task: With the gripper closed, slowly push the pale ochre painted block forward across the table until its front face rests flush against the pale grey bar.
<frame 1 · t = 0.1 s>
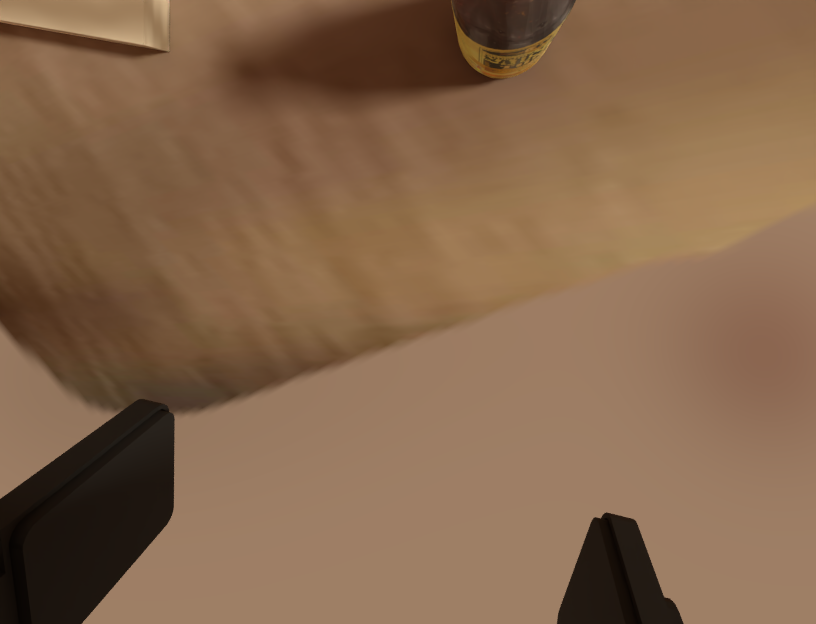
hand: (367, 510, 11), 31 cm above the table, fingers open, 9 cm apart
sauce bottle: (506, 31, 35), on the table
pale grey bar: (50, 2, 40), on the table
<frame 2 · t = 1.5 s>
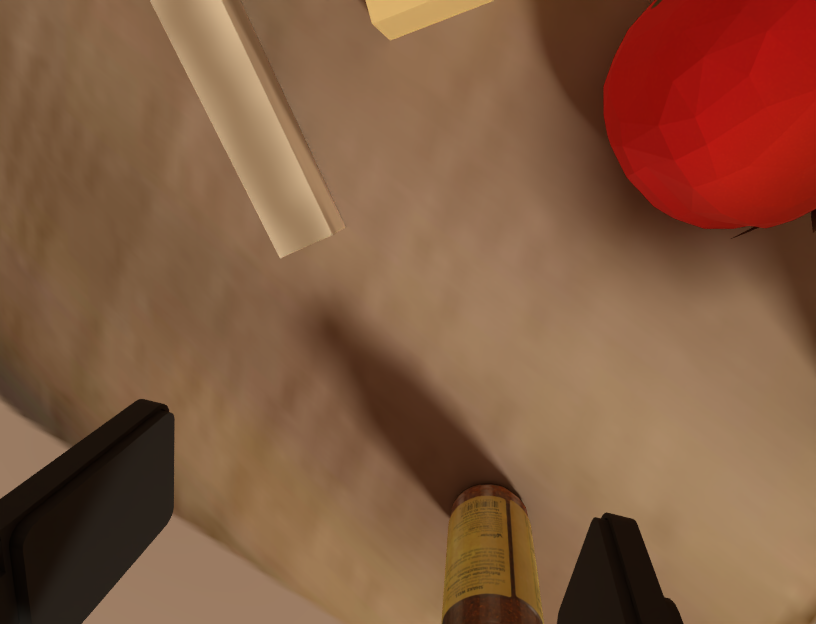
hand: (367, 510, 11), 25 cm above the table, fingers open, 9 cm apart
sauce bottle: (491, 511, 41), on the table
pale grey bar: (253, 97, 33), on the table
tomato: (706, 106, 30), on the table
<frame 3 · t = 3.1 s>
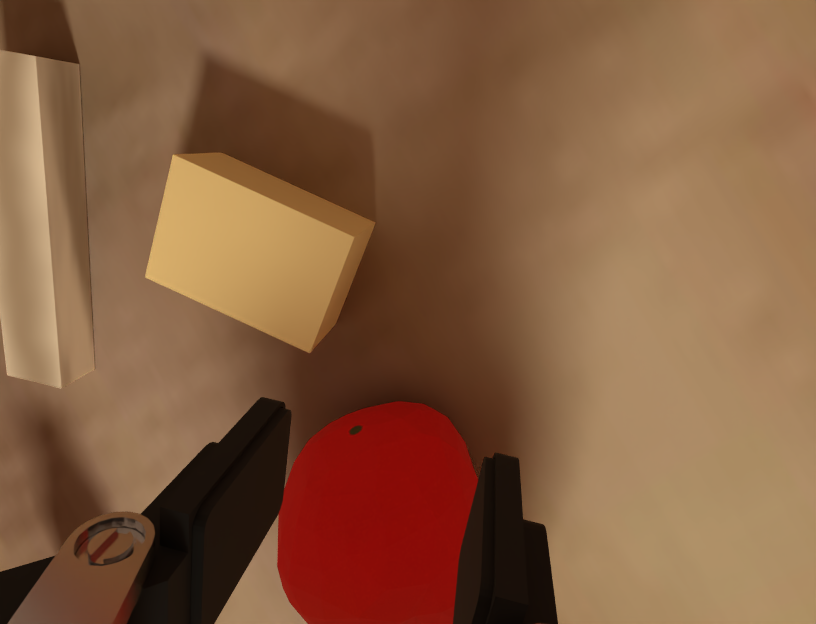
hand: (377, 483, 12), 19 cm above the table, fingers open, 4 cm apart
block: (282, 240, 31), on the table
pale grey bar: (60, 226, 33), on the table
tomato: (403, 467, 35), on the table
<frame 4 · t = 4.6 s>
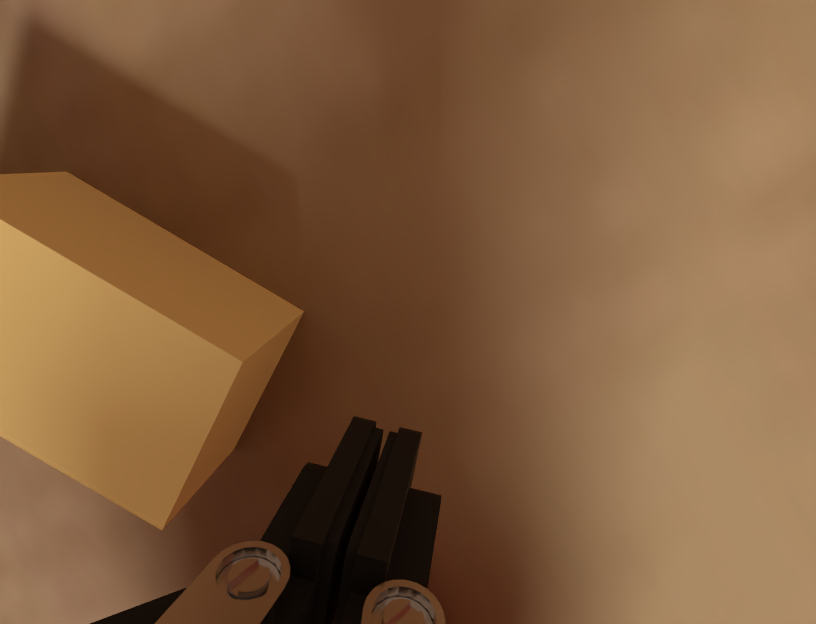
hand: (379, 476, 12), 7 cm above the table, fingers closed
block: (159, 317, 20), on the table
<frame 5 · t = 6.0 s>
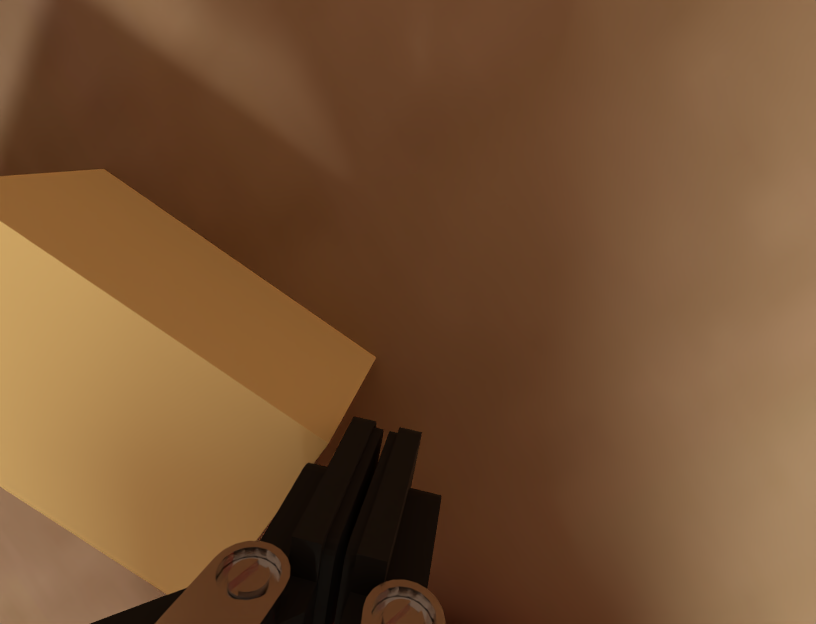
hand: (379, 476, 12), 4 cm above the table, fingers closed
block: (198, 346, 17), on the table, touching gripper
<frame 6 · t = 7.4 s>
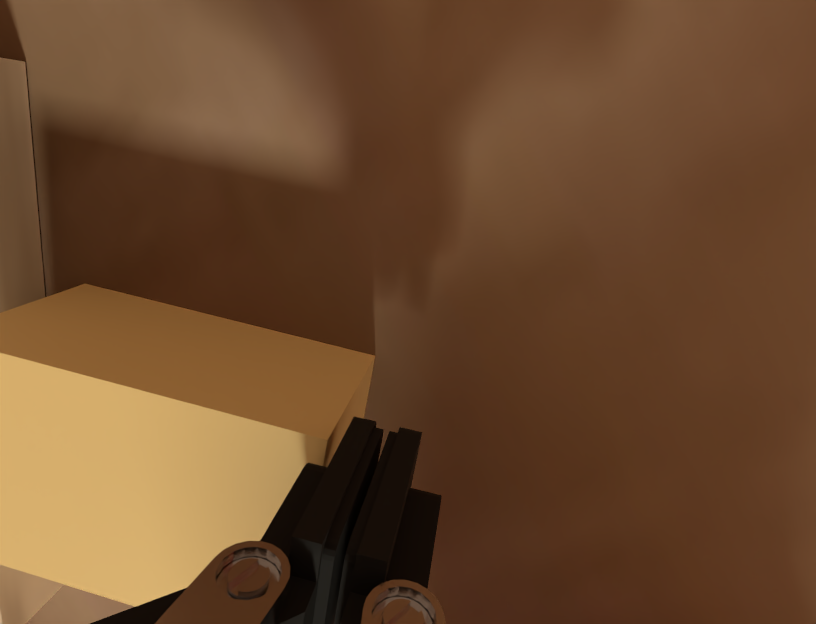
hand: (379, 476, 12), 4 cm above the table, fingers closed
block: (222, 408, 18), on the table, touching gripper
pale grey bar: (1, 356, 18), on the table
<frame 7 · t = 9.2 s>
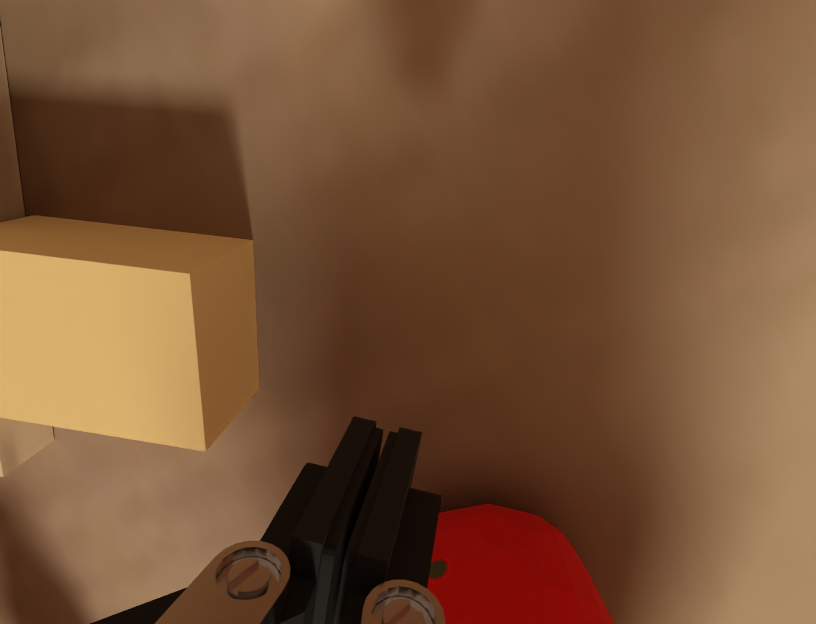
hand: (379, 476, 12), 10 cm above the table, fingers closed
block: (153, 302, 23), on the table
tomato: (479, 572, 26), on the table
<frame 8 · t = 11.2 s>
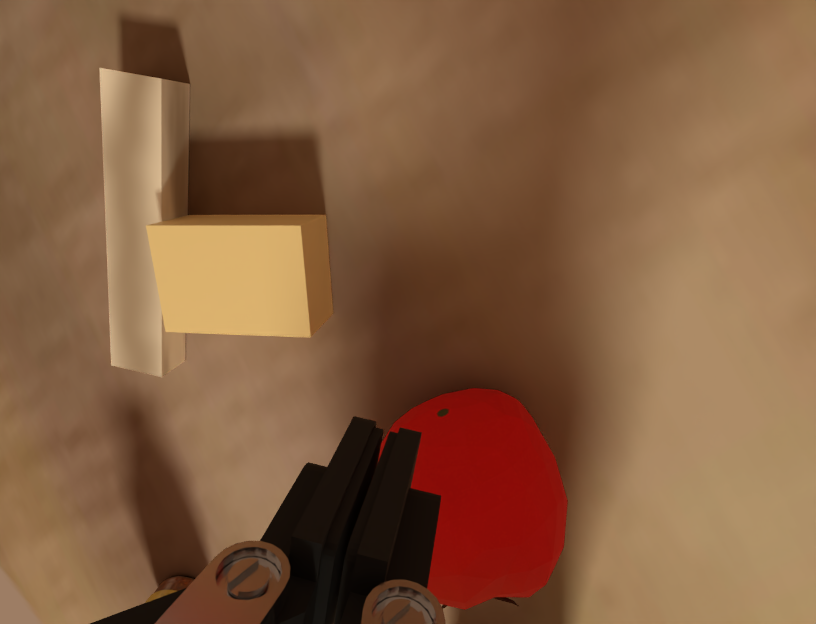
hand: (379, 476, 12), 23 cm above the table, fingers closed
block: (263, 263, 36), on the table
sauce bottle: (192, 597, 48), on the table
pale grey bar: (161, 229, 37), on the table
tomato: (471, 449, 38), on the table
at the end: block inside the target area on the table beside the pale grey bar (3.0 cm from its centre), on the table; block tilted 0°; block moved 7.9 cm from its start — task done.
